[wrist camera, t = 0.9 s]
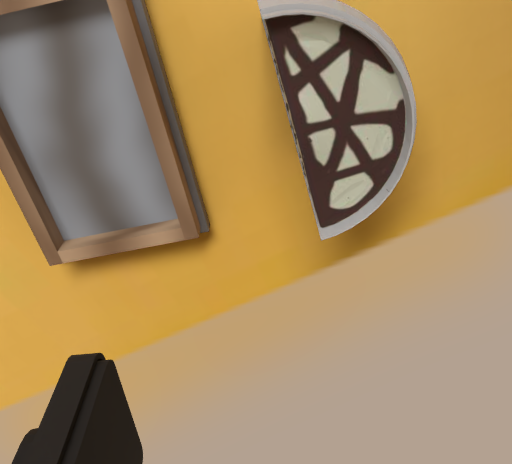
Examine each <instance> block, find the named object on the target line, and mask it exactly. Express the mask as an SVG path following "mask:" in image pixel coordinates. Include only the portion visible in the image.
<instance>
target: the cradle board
mask: <svg viewBox="0 0 512 464" xmlns="http://www.w3.org/2000/svg"><path fill="white" fill-rule="evenodd" d="M0 169H1V171H2V173H3V175H4V177H5V179H6V181H7V183H8V185H9V187H10V189H11V191H12V193H13V195H14V197H15V199H16V201H17V202H18V204H19V206H20V208H21V210H22V212H23V214H24V216H25V218H26V220H27V222H28V224H29V226H30V228H31V230H32V232H33V234H34V236H35V238H36V240H37V242H38V244H39V246H40V248H41V250H42V252H43V254H44V255H45V257H46V259H47V261H48V263H49V265H50V266H52V265H57V264H62V263H68V262H73V261H78V260H83V259H89V258H94V257H99V256H104V255H110V254H115V253H120V252H125V251H131V250H136V249H141V248H146V247H152V246H157V245H162V244H167V243H173V242H178V241H183V240H188V239H194V238H199V234H200V233H203V232H208V231H209V227H210V224H209V220H208V217H207V213H206V210H205V206H204V203H203V200H202V196H201V193H200V189H199V186H198V182H197V179H196V176H195V172H194V169H193V165H192V162H191V158H190V155H189V152H188V148H187V145H186V141H185V138H184V135H183V131H182V128H181V124H180V121H179V117H178V114H177V111H176V107H175V104H174V100H173V97H172V93H171V90H170V87H169V83H168V80H167V76H166V73H165V69H164V66H163V63H162V59H161V56H160V52H159V49H158V45H157V42H156V39H155V35H154V32H153V28H152V25H151V21H150V18H149V15H148V11H147V8H146V4H145V1H144V0H0Z"/></svg>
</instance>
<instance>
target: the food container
mask: <svg viewBox="0 0 512 464" xmlns="http://www.w3.org/2000/svg"><path fill="white" fill-rule="evenodd" d="M257 1H258V5H259V9H260V12H261V17H262V21H263V24H264V28H265V32H266V36H267V39H268V43H269V47H270V51H271V54H272V58H273V62H274V66H275V69H276V73H277V77H278V81H279V84H280V88H281V92H282V96H283V99H284V103H285V107H286V111H287V114H288V118H289V122H290V126H291V129H292V133H293V137H294V141H295V144H296V148H297V152H298V156H299V159H300V163H301V167H302V171H303V174H304V178H305V182H306V186H307V189H308V193H309V197H310V200H311V204H312V208H313V212H314V215H315V219H316V223H317V226H318V230H319V234H320V238H321V240H324V239H327V238H330V237H333V236H336V235H338V234H340V233H342V232H344V231H346V230H348V229H351V228H352V227H354V226H355V225H357V224H358V223H360V222H361V221H363V220H364V219H366V218H367V217H368V216H369V215H370V214H372V213H373V212H374V211H375V210H376V209H377V208H378V207H379V206H380V205H381V204H382V203H383V202H384V201H385V200H386V198H387V197H388V196H389V195H390V194H391V192H392V191H393V189H394V188H395V186H396V184H397V183H398V181H399V180H400V178H401V176H402V174H403V171H404V169H405V167H406V165H407V163H408V160H409V157H410V154H411V150H412V147H413V143H414V139H415V130H416V102H415V97H414V93H413V88H412V83H411V80H410V76H409V73H408V71H407V68H406V66H405V63H404V61H403V58H402V56H401V54H400V53H399V51H398V50H397V48H396V46H395V45H394V43H393V42H392V40H391V39H390V38H389V36H388V35H387V34H386V33H385V32H384V31H383V30H382V29H381V28H380V27H379V26H378V25H377V24H376V23H375V22H374V21H372V20H371V19H370V18H368V17H367V16H366V15H364V14H363V13H362V12H360V11H359V10H357V9H355V8H353V7H351V6H349V5H347V4H345V3H343V2H340V1H337V0H257Z"/></svg>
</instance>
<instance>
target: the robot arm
mask: <svg viewBox="0 0 512 464" xmlns="http://www.w3.org/2000/svg"><path fill="white" fill-rule="evenodd" d="M142 462H143V450H142V445H141V442H140V439H139V436H138V433H137V430H136V427H135V424H134V421H133V418H132V415H131V412H130V409H129V406H128V403H127V400H126V397H125V394H124V391H123V388H122V385H121V382H120V379H119V376H118V373H117V370H116V367H115V364H114V362H113V360H105V357H104V355H103V354H102V353H93V354H82V355H71V356H70V357H69V358H68V360H67V362H66V364H65V366H64V369H63V371H62V373H61V376H60V378H59V381H58V383H57V385H56V388H55V390H54V392H53V395H52V397H51V400H50V402H49V404H48V407H47V409H46V412H45V414H44V416H43V418H42V421H41V423H40V426H39V428H36V429H32V430H30V431H29V432H28V433H27V434H26V435H25V437H24V439H23V441H22V442H21V444H20V446H19V448H18V451H17V453H16V455H15V457H14V460H13V462H12V464H142Z"/></svg>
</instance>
